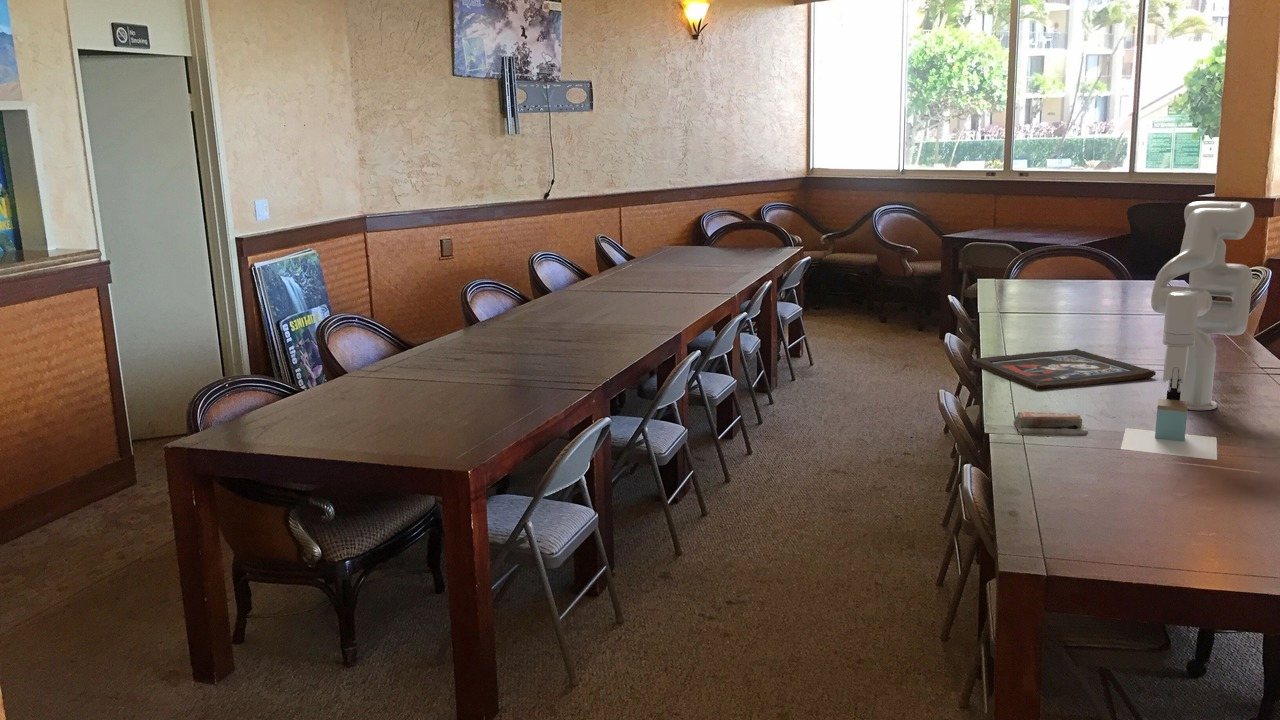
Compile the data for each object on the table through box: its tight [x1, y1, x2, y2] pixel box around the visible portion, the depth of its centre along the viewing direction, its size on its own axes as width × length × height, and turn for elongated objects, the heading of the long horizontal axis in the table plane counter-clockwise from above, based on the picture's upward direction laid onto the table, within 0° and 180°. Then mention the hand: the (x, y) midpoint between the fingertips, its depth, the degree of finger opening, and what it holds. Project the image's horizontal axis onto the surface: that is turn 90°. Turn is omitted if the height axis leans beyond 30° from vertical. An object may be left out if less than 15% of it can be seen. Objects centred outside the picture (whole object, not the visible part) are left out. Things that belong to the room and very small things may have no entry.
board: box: [1120, 427, 1218, 461], centre depth 270 cm, size 20×22×1 cm
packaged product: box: [1013, 411, 1089, 435], centre depth 287 cm, size 18×5×10 cm
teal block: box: [1154, 398, 1188, 441], centre depth 272 cm, size 4×7×10 cm, turn 62°
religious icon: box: [971, 348, 1156, 391], centre depth 349 cm, size 40×45×3 cm
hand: (1172, 405), depth 274 cm, fingers closed
